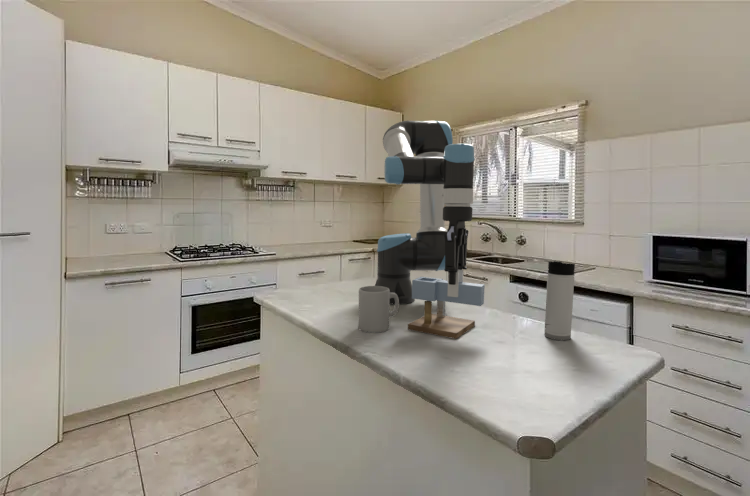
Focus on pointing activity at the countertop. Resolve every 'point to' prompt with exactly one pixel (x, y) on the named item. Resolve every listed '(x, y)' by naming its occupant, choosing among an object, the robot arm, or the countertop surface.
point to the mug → (375, 308)
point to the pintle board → (440, 324)
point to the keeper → (440, 309)
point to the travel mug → (559, 300)
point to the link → (439, 289)
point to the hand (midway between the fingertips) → (455, 294)
